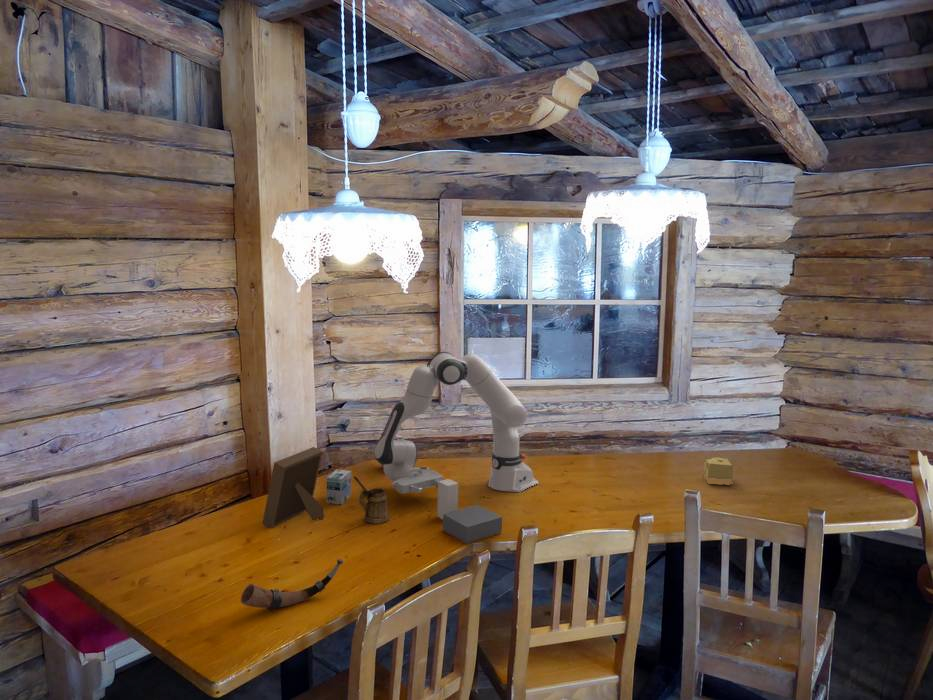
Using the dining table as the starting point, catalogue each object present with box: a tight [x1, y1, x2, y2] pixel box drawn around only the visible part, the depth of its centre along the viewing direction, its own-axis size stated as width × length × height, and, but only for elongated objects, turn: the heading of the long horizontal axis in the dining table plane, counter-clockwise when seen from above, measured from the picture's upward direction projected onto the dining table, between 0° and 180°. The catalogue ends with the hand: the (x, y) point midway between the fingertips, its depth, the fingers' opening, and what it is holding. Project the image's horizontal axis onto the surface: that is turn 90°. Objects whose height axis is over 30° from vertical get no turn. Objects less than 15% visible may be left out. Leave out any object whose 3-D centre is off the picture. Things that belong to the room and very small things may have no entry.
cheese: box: [702, 457, 734, 480], centre depth 312 cm, size 10×11×10 cm
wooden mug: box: [353, 475, 390, 525], centre depth 258 cm, size 9×14×18 cm, turn 115°
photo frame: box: [261, 446, 325, 530], centre depth 255 cm, size 15×22×25 cm
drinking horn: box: [240, 558, 344, 610], centre depth 199 cm, size 6×30×10 cm, turn 125°
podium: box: [442, 504, 503, 545], centre depth 251 cm, size 16×14×6 cm
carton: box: [437, 478, 459, 520], centre depth 262 cm, size 5×6×14 cm
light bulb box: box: [326, 468, 352, 505], centre depth 277 cm, size 11×7×11 cm, turn 168°
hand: (430, 488), depth 271 cm, fingers open, 8 cm apart
